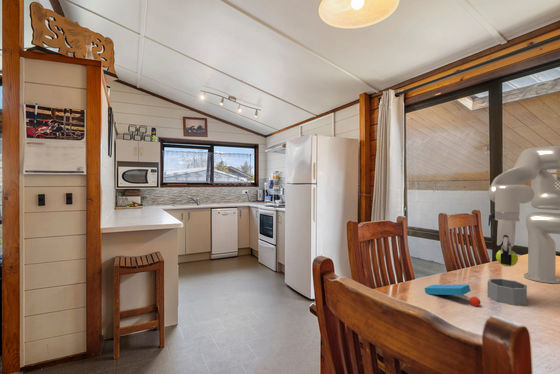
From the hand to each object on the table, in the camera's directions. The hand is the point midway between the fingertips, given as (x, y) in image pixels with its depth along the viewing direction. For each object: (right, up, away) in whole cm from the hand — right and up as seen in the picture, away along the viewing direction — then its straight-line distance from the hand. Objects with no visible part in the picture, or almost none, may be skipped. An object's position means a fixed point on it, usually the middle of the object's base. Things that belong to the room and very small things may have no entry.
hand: (506, 262), depth 111 cm
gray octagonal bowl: (0, -14, 0) cm, 14 cm away
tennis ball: (0, -2, 0) cm, 2 cm away
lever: (-21, -15, +1) cm, 26 cm away
